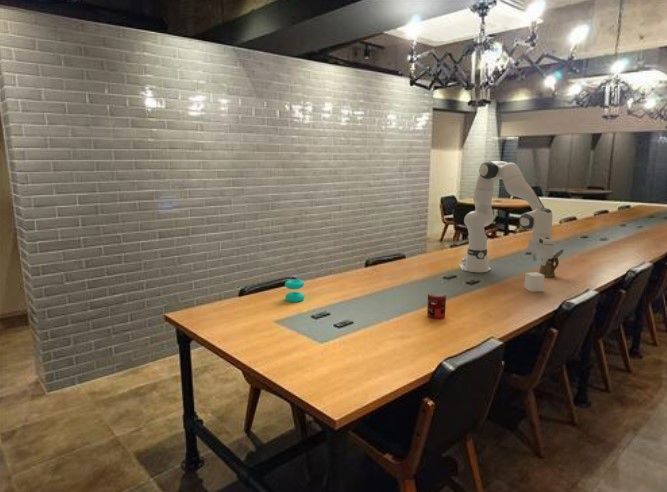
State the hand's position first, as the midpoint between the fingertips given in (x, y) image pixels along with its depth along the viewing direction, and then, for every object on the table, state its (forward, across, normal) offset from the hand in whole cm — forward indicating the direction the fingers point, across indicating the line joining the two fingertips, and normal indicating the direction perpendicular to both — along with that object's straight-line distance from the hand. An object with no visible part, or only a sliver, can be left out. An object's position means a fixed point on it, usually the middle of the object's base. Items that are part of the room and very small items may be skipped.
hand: (538, 263), depth 239 cm
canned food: (+15, +37, -67) cm, 78 cm away
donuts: (+17, +5, -132) cm, 134 cm away
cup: (+15, +1, -2) cm, 15 cm away
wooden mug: (+15, -26, +22) cm, 37 cm away
